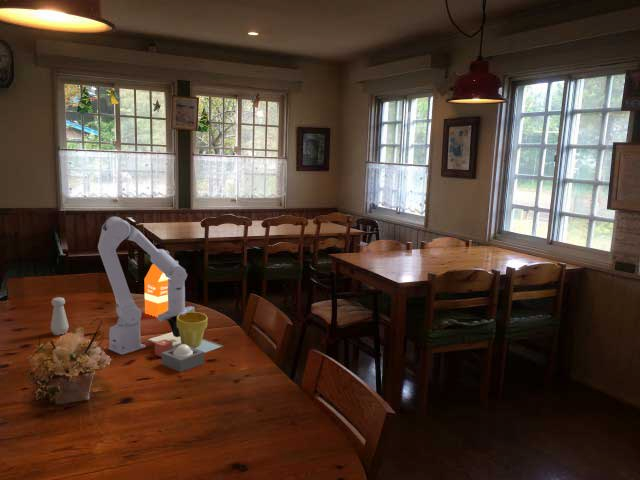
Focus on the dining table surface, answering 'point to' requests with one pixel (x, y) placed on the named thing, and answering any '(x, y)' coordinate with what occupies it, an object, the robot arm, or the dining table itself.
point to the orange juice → (156, 292)
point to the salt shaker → (59, 317)
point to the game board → (204, 345)
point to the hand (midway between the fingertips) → (176, 336)
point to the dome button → (183, 351)
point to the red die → (162, 347)
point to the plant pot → (192, 328)
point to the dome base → (182, 360)
